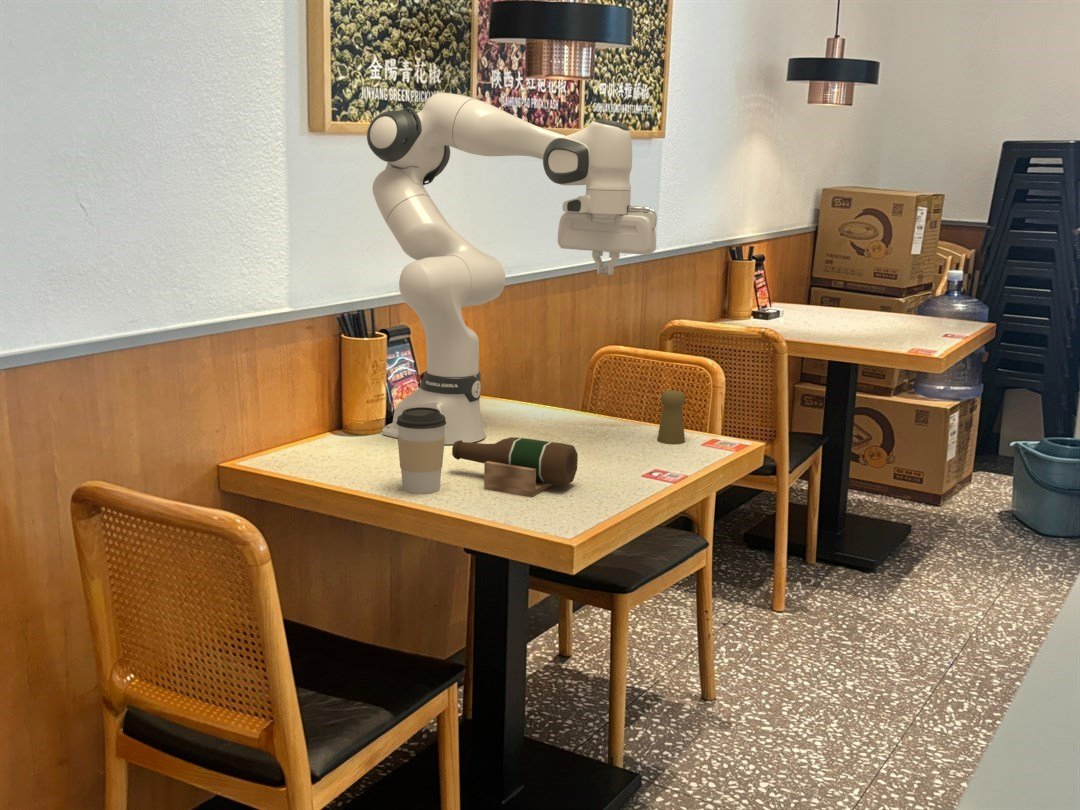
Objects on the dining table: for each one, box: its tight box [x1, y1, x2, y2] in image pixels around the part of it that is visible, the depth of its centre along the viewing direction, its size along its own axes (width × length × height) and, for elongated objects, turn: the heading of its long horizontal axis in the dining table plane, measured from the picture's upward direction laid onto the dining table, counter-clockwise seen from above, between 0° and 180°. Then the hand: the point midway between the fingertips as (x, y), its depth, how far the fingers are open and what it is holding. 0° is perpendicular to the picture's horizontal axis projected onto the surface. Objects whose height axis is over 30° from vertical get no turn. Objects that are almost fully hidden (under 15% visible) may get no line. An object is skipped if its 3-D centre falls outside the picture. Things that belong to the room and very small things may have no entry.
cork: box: [656, 389, 686, 445], centre depth 248 cm, size 6×6×11 cm
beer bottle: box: [451, 436, 579, 486], centre depth 216 cm, size 8×8×24 cm
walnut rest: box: [483, 461, 554, 498], centre depth 215 cm, size 10×12×5 cm
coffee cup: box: [396, 407, 446, 495], centre depth 210 cm, size 9×9×15 cm
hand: (605, 274), depth 230 cm, fingers closed
